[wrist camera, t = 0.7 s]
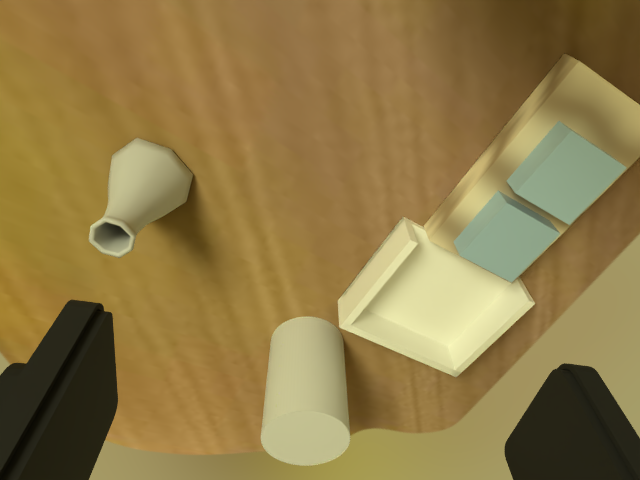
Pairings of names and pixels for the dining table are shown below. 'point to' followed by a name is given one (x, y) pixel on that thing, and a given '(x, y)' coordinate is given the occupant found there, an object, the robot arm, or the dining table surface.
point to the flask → (139, 194)
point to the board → (528, 131)
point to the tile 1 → (505, 237)
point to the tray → (430, 302)
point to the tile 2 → (564, 173)
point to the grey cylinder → (306, 393)
